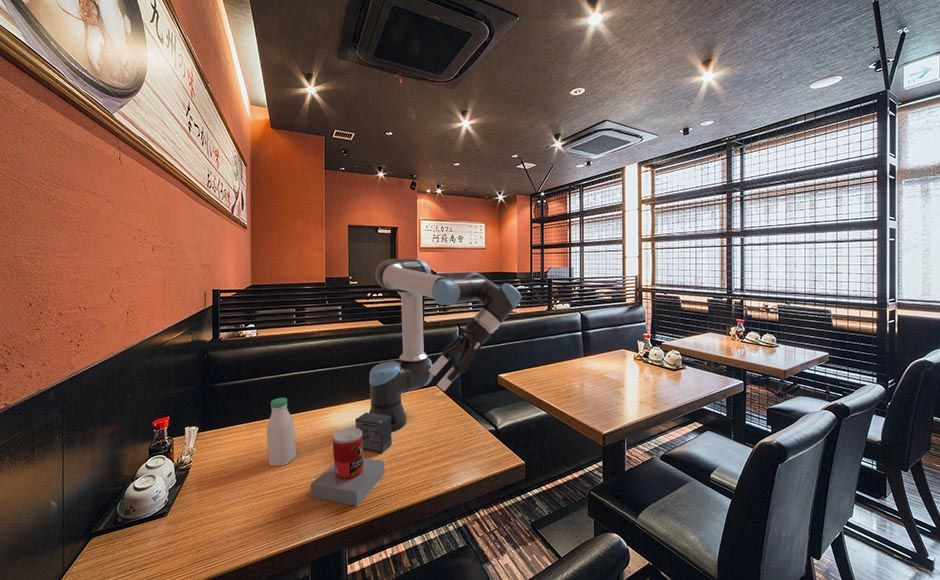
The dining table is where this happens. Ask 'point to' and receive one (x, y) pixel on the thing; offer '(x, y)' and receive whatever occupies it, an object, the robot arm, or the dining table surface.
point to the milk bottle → (280, 434)
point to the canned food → (348, 453)
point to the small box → (375, 431)
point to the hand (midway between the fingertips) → (435, 380)
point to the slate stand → (347, 484)
